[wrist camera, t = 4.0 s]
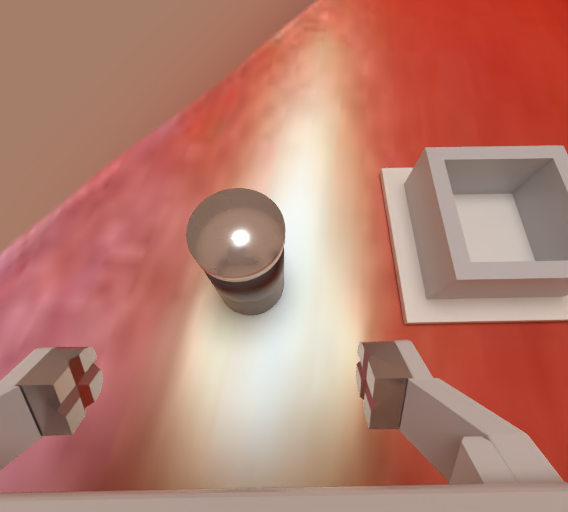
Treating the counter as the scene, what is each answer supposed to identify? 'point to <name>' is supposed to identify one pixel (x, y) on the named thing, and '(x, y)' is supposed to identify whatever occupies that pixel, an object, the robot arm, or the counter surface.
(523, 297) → the open square tray
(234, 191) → the brown cylinder
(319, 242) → the counter surface
